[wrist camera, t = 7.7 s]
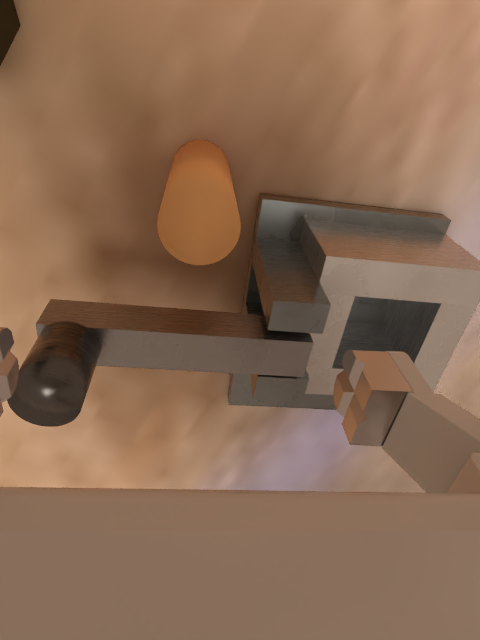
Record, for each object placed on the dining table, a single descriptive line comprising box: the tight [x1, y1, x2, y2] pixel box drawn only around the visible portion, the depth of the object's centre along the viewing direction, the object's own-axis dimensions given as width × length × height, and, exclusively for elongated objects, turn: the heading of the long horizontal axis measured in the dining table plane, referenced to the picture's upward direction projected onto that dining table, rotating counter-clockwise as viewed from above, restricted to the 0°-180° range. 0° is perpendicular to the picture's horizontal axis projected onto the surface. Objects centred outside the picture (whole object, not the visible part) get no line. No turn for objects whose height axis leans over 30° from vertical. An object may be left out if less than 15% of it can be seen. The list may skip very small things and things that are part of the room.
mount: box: [228, 194, 480, 410], centre depth 29 cm, size 18×13×10 cm
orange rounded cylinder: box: [157, 140, 241, 265], centre depth 22 cm, size 4×4×10 cm
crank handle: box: [7, 299, 313, 426], centre depth 21 cm, size 3×14×6 cm, turn 82°
